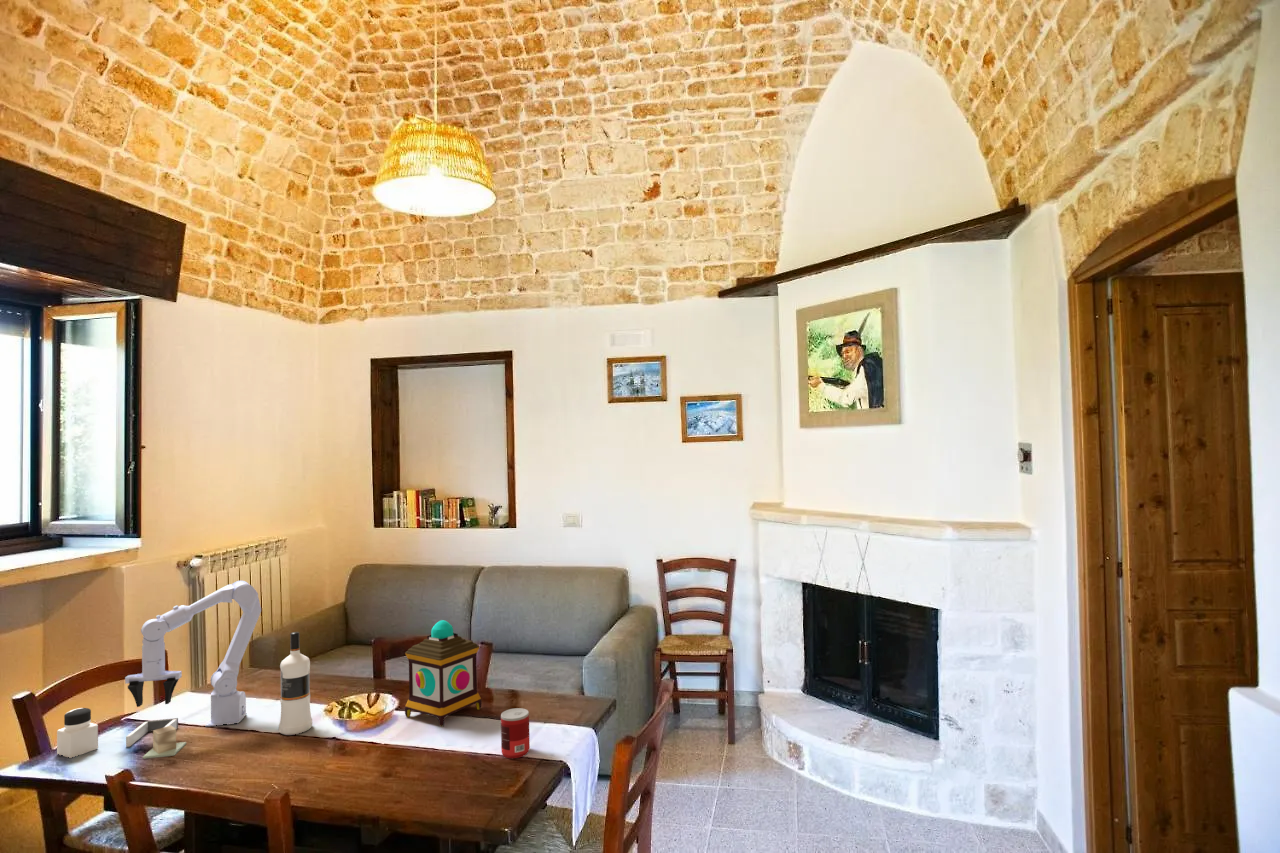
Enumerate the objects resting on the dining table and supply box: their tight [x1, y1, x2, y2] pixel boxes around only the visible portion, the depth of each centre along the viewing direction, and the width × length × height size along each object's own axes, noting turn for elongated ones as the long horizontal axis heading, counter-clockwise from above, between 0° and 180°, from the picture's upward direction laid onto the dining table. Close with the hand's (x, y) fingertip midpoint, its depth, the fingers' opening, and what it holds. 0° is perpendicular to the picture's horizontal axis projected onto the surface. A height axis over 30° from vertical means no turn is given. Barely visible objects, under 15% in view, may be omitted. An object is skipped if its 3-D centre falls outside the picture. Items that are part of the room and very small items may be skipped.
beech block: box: [152, 726, 177, 754], centre depth 203 cm, size 4×4×6 cm
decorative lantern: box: [404, 619, 482, 727], centre depth 227 cm, size 20×20×30 cm
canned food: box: [500, 707, 531, 759], centre depth 196 cm, size 8×8×11 cm
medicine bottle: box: [56, 707, 99, 759], centre depth 204 cm, size 7×7×12 cm
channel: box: [125, 717, 179, 748], centre depth 213 cm, size 9×12×3 cm
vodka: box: [278, 631, 313, 736], centre depth 216 cm, size 9×9×30 cm
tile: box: [142, 741, 187, 760], centre depth 202 cm, size 8×8×1 cm
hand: (153, 704), depth 213 cm, fingers open, 7 cm apart
